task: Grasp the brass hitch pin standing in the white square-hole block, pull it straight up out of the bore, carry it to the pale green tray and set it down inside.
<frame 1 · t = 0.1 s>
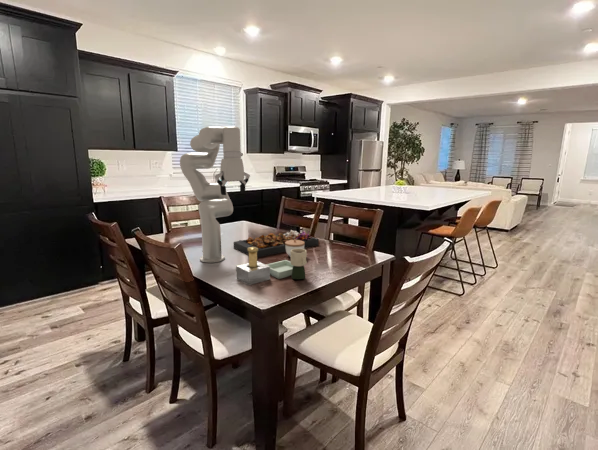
hand: (233, 194, 155), 37 cm above the table, tool pointing down, fingers open, 9 cm apart
food platter: (276, 247, 207), on the table
tray: (282, 271, 163), on the table
character mug: (298, 278, 154), on the table
lidded jar: (294, 256, 188), on the table
white square-hole block: (253, 279, 153), on the table
pin: (253, 263, 152), in the white square-hole block
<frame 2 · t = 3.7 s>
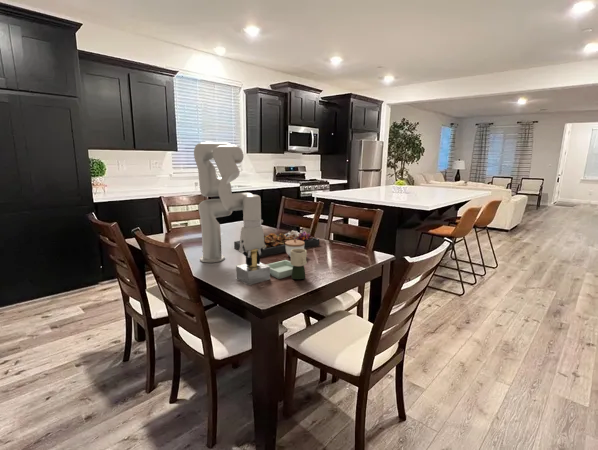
hand: (253, 263, 152), 7 cm above the table, tool pointing down, fingers closed on pin, 3 cm apart
pin: (253, 263, 152), in the white square-hole block, touching gripper
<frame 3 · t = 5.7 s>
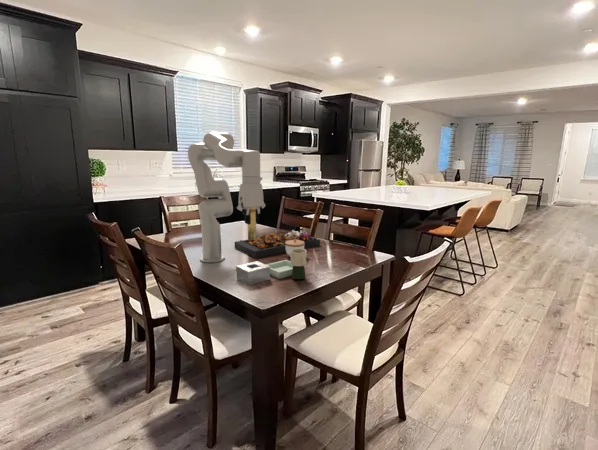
hand: (251, 222, 148), 26 cm above the table, tool pointing down, fingers closed on pin, 3 cm apart
pin: (251, 222, 148), point 26 cm above the table, touching gripper
everything else where it was.
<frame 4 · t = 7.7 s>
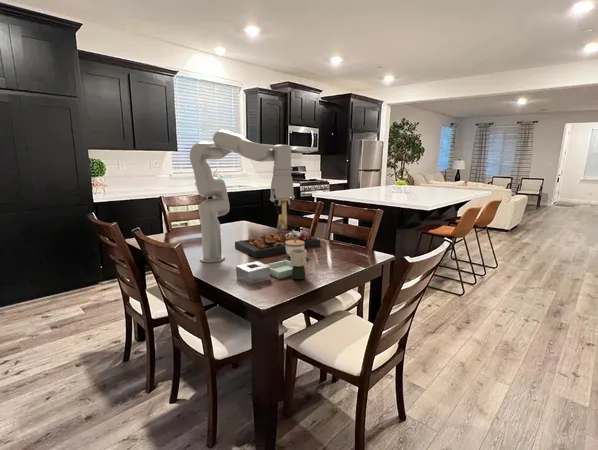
hand: (282, 213, 157), 28 cm above the table, tool pointing down, fingers closed on pin, 3 cm apart
pin: (282, 213, 157), point 28 cm above the table, touching gripper
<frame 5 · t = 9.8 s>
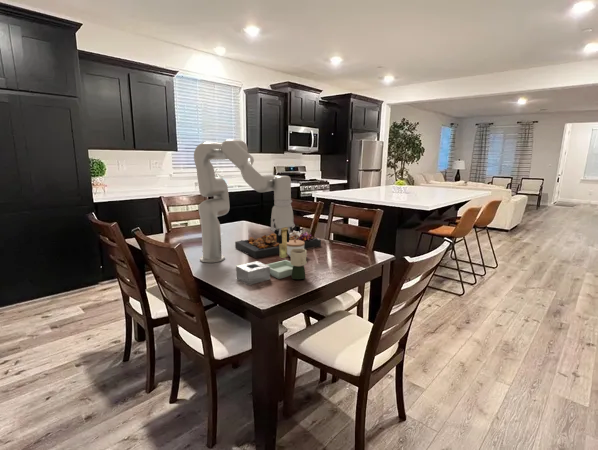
hand: (282, 242, 160), 15 cm above the table, tool pointing down, fingers closed on pin, 3 cm apart
pin: (283, 242, 160), point 15 cm above the table, touching gripper
when the fingers open (9 cm above the table, at t = 11.8 s): pin stays where it is, resting on tray.
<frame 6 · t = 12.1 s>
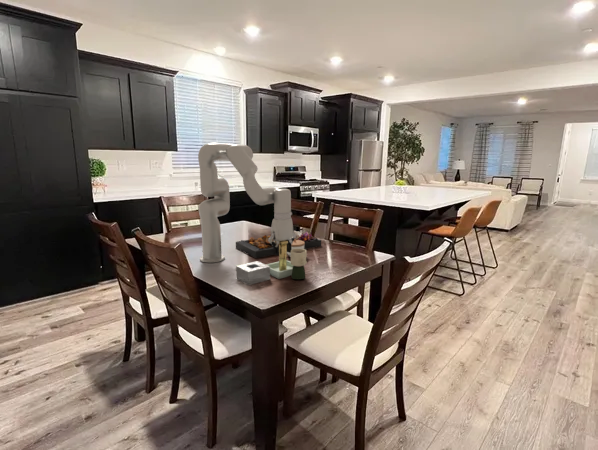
hand: (282, 253, 161), 9 cm above the table, tool pointing down, fingers open, 6 cm apart
pin: (282, 255, 161), in the tray, point 8 cm above the table
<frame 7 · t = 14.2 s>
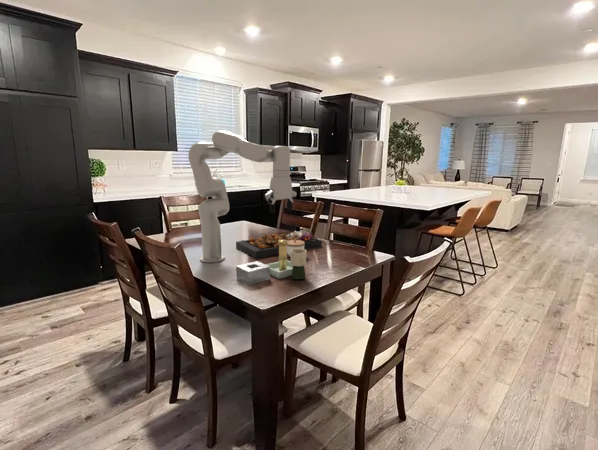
hand: (281, 211, 158), 29 cm above the table, tool pointing down, fingers open, 9 cm apart
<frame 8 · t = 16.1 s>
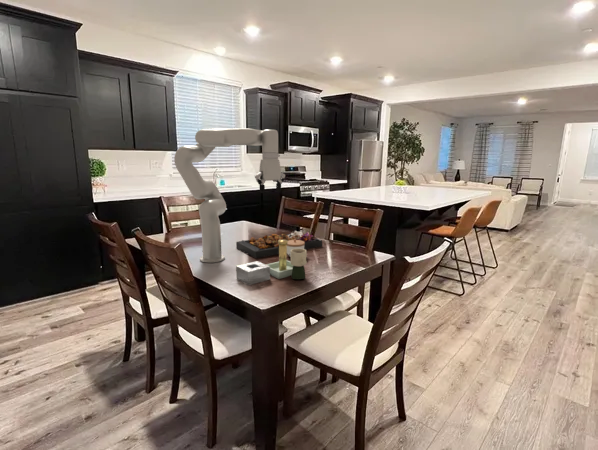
hand: (270, 192, 167), 36 cm above the table, tool pointing down, fingers open, 9 cm apart
at the end: pin inside the target area on the tray (0.2 cm from its centre), point 8.1 cm above the tray's base; the gripper is holding nothing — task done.
